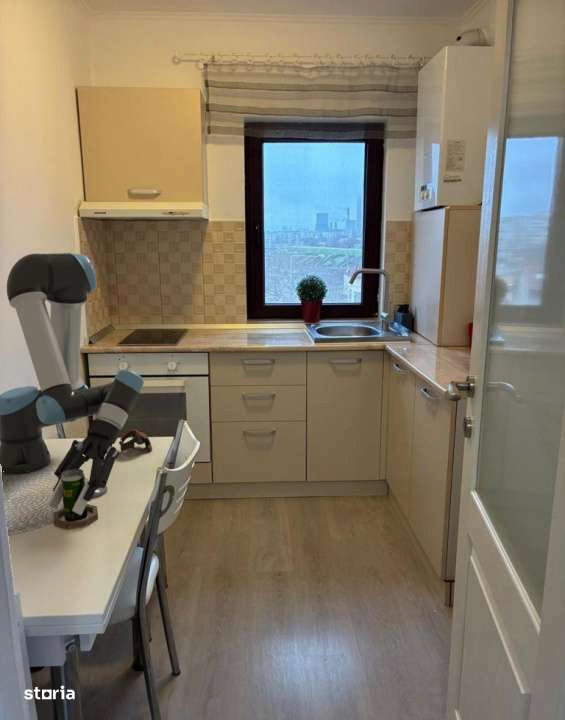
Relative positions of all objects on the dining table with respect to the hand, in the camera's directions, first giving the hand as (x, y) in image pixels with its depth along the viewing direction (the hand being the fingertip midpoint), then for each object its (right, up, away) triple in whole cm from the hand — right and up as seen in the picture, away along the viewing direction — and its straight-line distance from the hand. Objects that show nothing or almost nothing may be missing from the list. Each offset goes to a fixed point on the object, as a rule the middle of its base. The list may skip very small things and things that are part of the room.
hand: (64, 509), depth 130 cm
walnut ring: (+1, -3, +4) cm, 5 cm away
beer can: (+1, -4, +4) cm, 6 cm away
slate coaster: (0, 0, +19) cm, 19 cm away
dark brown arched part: (+4, +6, +51) cm, 51 cm away
